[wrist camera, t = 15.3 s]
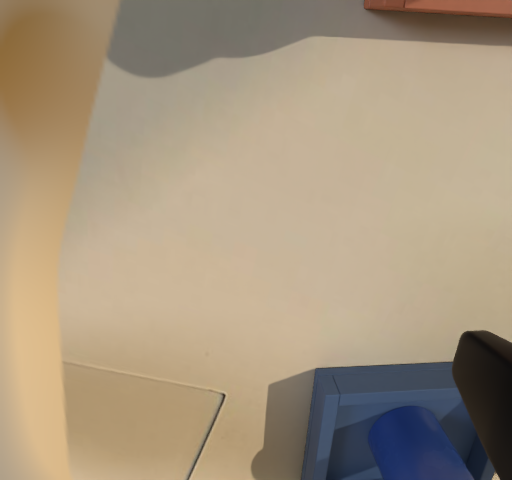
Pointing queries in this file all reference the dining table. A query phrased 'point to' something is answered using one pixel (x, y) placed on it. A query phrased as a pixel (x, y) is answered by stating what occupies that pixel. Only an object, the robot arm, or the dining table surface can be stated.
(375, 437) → the blue cylinder
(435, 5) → the terracotta tray
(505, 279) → the dining table surface
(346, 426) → the blue tray
